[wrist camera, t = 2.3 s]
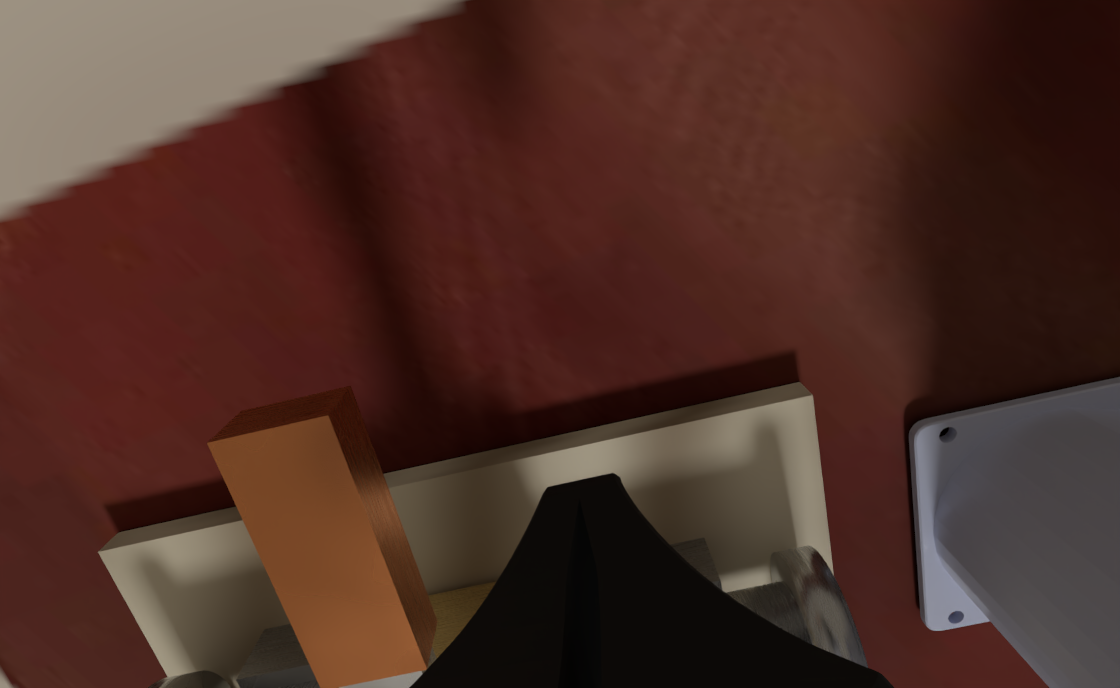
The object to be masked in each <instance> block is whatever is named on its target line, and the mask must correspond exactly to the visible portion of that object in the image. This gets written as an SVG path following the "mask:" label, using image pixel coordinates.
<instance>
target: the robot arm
mask: <svg viewBox="0 0 1120 688" xmlns="http://www.w3.org/2000/svg"><path fill="white" fill-rule="evenodd" d="M947 427H949V430H948V432H947V433H946V434H945V435H944V436H941V437H939V435H940V432H941V431H942V430H943V429H945V428H947ZM909 449H910V464H911V480H912V495H913V510H914V525H915V540H916V555H917V570H918V586H919V601H920V616H921V619H922V621H923V622H924V623H925V625H926V626H927V627H928V628H929V629H931V630H934V631H942V630H947V629H952V628H958V627H963V626H968V625H973V624H978V623H983V622H988V621H991V623H992V624H993V625H994V626H995V627H996V628H997V629H998V630H999V632H1000V633H1001V634H1002V635H1003V636H1004V637H1005V638H1006V639H1007V641H1008V642H1009V643H1010V644H1011V645H1012V646H1013V647H1014V648H1015V649H1016V651H1017V652H1018V653H1019V654H1020V655H1021V656H1022V657H1023V658H1024V660H1025V661H1026V662H1027V663H1028V664H1029V665H1030V666H1031V667H1032V668H1033V670H1034V671H1035V672H1036V673H1037V674H1038V675H1039V676H1040V677H1041V679H1042V680H1043V681H1044V682H1045V683H1046V684H1047V685H1048V686H1049V688H1120V377H1116V378H1112V379H1107V380H1103V381H1098V382H1093V383H1089V384H1084V385H1079V386H1075V387H1070V388H1065V389H1061V390H1056V391H1051V392H1047V393H1042V394H1038V395H1033V396H1028V397H1024V398H1019V399H1014V400H1010V401H1005V402H1000V403H996V404H991V405H986V406H982V407H977V408H972V409H968V410H963V411H959V412H954V413H949V414H945V415H940V416H935V417H931V418H926V419H923V420H920V421H918V422H917V423H915V424H914V425H913V426H912V428H911V429H910V431H909ZM954 611H955V612H954ZM952 612H954V613H953V614H951V613H952ZM950 614H951V615H950ZM409 688H894V687H893V686H892V685H891V684H890V683H889V681H888V680H887V679H886V678H885V677H884V676H883V675H882V674H880V673H879V672H877V671H874V670H872V669H869V668H867V667H865V666H862V665H860V664H857V663H855V662H852V661H850V660H848V659H845V658H843V657H840V656H838V655H836V654H833V653H831V652H828V651H826V650H824V649H821V648H819V647H816V646H814V645H812V644H810V643H808V642H806V641H804V640H802V639H800V638H798V637H796V636H794V635H792V634H790V633H789V632H787V631H785V630H783V629H781V628H779V627H778V626H776V625H775V624H773V623H771V622H770V621H768V620H766V619H765V618H763V617H761V616H760V615H758V614H757V613H755V612H753V611H752V610H750V609H748V608H747V607H745V606H743V605H742V604H740V603H739V602H738V601H736V600H735V599H733V598H732V597H731V596H729V595H728V594H727V593H725V592H724V591H722V590H721V589H720V588H718V587H717V586H716V585H714V584H713V583H712V582H711V581H709V580H708V579H707V578H706V577H704V576H703V575H702V574H701V573H700V572H698V571H697V570H696V569H695V568H694V567H693V566H692V565H690V564H689V563H688V562H687V561H686V560H685V559H684V558H683V557H682V556H681V555H680V554H679V553H678V552H677V551H676V550H675V549H674V548H673V547H672V546H670V545H669V544H668V542H667V541H666V540H665V539H664V538H663V537H662V536H661V535H660V534H659V533H658V532H657V531H656V529H655V528H654V527H653V526H652V525H651V524H650V522H649V521H648V520H647V519H646V518H645V517H644V515H643V514H642V513H641V511H640V510H639V509H638V508H637V506H636V505H635V503H634V502H633V500H632V499H631V498H630V496H629V494H628V493H627V491H626V489H625V488H624V486H623V484H622V481H621V478H620V477H619V476H617V475H616V474H614V473H610V474H605V475H600V476H596V477H591V478H586V479H582V480H577V481H573V482H568V483H563V484H559V485H554V486H550V487H547V488H546V490H545V491H544V493H543V494H542V497H541V499H540V501H539V503H538V506H537V508H536V510H535V512H534V514H533V516H532V519H531V521H530V523H529V525H528V527H527V529H526V531H525V533H524V535H523V536H522V538H521V540H520V542H519V544H518V546H517V548H516V549H515V551H514V553H513V555H512V557H511V559H510V560H509V562H508V564H507V565H506V567H505V569H504V570H503V572H502V573H501V575H500V577H499V578H498V580H497V581H496V583H495V585H494V586H493V588H492V589H491V591H490V592H489V594H488V596H487V597H486V599H485V600H484V601H483V603H482V604H481V606H480V607H479V609H478V610H477V611H476V613H475V614H474V615H473V617H472V618H471V619H470V621H469V622H468V623H467V624H466V626H465V627H464V628H463V630H462V631H461V632H460V633H459V634H458V636H457V637H456V638H455V639H454V640H453V642H452V643H451V644H450V645H449V646H448V647H447V648H446V649H445V650H444V651H443V652H442V653H441V655H440V656H439V657H438V658H437V659H436V660H435V661H434V662H433V663H432V664H431V665H430V666H429V667H428V669H427V670H426V671H425V672H424V673H423V674H422V675H421V676H420V677H419V678H418V679H417V680H416V681H415V682H414V683H413V684H412V685H411V686H410V687H409Z"/></svg>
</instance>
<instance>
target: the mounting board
mask: <svg viewBox="0 0 1120 688" xmlns="http://www.w3.org/2000/svg"><path fill="white" fill-rule="evenodd" d="M610 473H614V474H616V475H617V476H619V477H620V478H621V481H622V484H623V486H624V488H625V489H626V491H627V493H628V494H629V496H630V498H631V499H632V500H633V502H634V503H635V505H636V506H637V508H638V509H639V510H640V511H641V513H642V514H643V515H644V517H645V518H646V519H647V520H648V521H649V522H650V524H651V525H652V526H653V527H654V528H655V529H656V531H657V532H658V533H659V534H660V535H661V536H662V537H663V538H664V539H665V540H666V541H667V542H668V544H669V545H670V544H674V543H679V542H684V541H689V540H694V539H698V538H703V537H704V538H705V541H706V543H707V546H708V549H709V551H710V554H711V557H712V559H713V562H714V564H715V567H716V570H717V572H718V575H719V578H720V580H721V585H722V591H724V592H730V591H735V590H740V589H745V588H750V587H754V586H759V585H764V584H769V583H772V578H771V569H770V559H771V555H772V553H774V552H778V551H783V550H788V549H793V548H798V547H802V546H807V545H809V546H812V547H813V548H815V549H816V550H817V551H818V552H819V554H820V555H821V556H822V557H823V559H824V560H825V562H826V563H827V565H828V567H829V568H830V570H831V572H832V574H833V575H834V573H833V564H832V556H831V547H830V539H829V530H828V522H827V513H826V505H825V496H824V488H823V479H822V471H821V462H820V454H819V445H818V437H817V428H816V420H815V411H814V403H813V395H812V394H811V393H810V392H809V391H808V390H807V389H806V388H805V387H804V386H803V385H802V384H801V383H800V382H797V383H792V384H788V385H783V386H779V387H774V388H770V389H765V390H761V391H756V392H752V393H747V394H743V395H738V396H734V397H729V398H725V399H720V400H715V401H711V402H706V403H702V404H697V405H693V406H688V407H684V408H679V409H675V410H670V411H666V412H661V413H657V414H652V415H648V416H643V417H639V418H634V419H630V420H625V421H620V422H616V423H611V424H607V425H602V426H598V427H593V428H589V429H584V430H580V431H575V432H571V433H566V434H562V435H557V436H553V437H548V438H544V439H539V440H534V441H530V442H525V443H521V444H516V445H512V446H507V447H503V448H498V449H494V450H489V451H485V452H480V453H476V454H471V455H467V456H462V457H458V458H453V459H449V460H444V461H439V462H435V463H430V464H426V465H421V466H417V467H412V468H408V469H403V470H399V471H394V472H390V473H385V474H383V475H384V477H385V480H386V483H387V486H388V488H389V491H390V494H391V496H392V499H393V502H394V504H395V507H396V510H397V513H398V515H399V518H400V521H401V523H402V526H403V529H404V532H405V534H406V537H407V540H408V542H409V545H410V548H411V550H412V553H413V556H414V559H415V561H416V564H417V567H418V569H419V572H420V575H421V578H422V580H423V583H424V586H425V588H426V591H427V594H428V596H429V595H434V594H439V593H444V592H449V591H453V590H458V589H463V588H468V587H472V586H477V585H482V584H487V583H492V582H496V581H497V580H498V578H499V577H500V575H501V573H502V572H503V570H504V569H505V567H506V565H507V564H508V562H509V560H510V559H511V557H512V555H513V553H514V551H515V549H516V548H517V546H518V544H519V542H520V540H521V538H522V536H523V535H524V533H525V531H526V529H527V527H528V525H529V523H530V521H531V519H532V516H533V514H534V512H535V510H536V508H537V506H538V503H539V501H540V499H541V497H542V494H543V493H544V491H545V490H546V488H547V487H550V486H554V485H559V484H563V483H568V482H573V481H577V480H582V479H586V478H591V477H596V476H600V475H605V474H610ZM98 553H99V555H100V556H101V558H102V560H103V562H104V564H105V565H106V567H107V569H108V571H109V573H110V574H111V576H112V578H113V580H114V581H115V583H116V585H117V587H118V589H119V590H120V592H121V594H122V596H123V598H124V599H125V601H126V603H127V605H128V607H129V608H130V610H131V612H132V614H133V615H134V617H135V619H136V621H137V623H138V624H139V626H140V628H141V630H142V632H143V633H144V635H145V637H146V639H147V641H148V642H149V644H150V646H151V648H152V649H153V651H154V653H155V655H156V657H157V658H158V660H159V662H160V664H161V666H162V667H163V669H164V671H165V673H166V675H167V676H168V677H172V676H177V675H182V674H187V673H192V672H197V671H211V672H214V673H216V674H218V675H220V676H221V677H222V678H223V679H224V680H225V681H226V682H227V683H228V684H229V686H230V687H231V688H240V687H239V685H238V683H237V681H236V679H237V677H238V675H239V673H240V672H241V670H242V668H243V666H244V665H245V663H246V661H247V659H248V657H249V656H250V654H251V652H252V650H253V649H254V647H255V645H256V643H257V641H258V640H259V638H260V636H261V634H262V633H263V631H264V629H268V628H273V627H277V626H282V625H287V624H291V623H290V621H289V619H288V617H287V615H286V613H285V610H284V608H283V606H282V604H281V602H280V600H279V597H278V595H277V593H276V591H275V589H274V587H273V585H272V582H271V580H270V578H269V576H268V574H267V572H266V569H265V567H264V565H263V563H262V561H261V559H260V556H259V554H258V552H257V550H256V548H255V546H254V543H253V541H252V539H251V537H250V535H249V533H248V531H247V528H246V526H245V524H244V522H243V520H242V518H241V515H240V513H239V511H238V509H237V507H231V508H227V509H222V510H218V511H213V512H209V513H204V514H200V515H195V516H191V517H186V518H182V519H177V520H173V521H168V522H164V523H159V524H154V525H150V526H145V527H141V528H136V529H132V530H127V531H123V532H119V533H117V534H116V535H115V536H114V537H113V538H112V539H111V540H110V541H109V542H108V543H107V544H106V545H105V546H104V547H103V548H102V549H101V550H100V551H98Z"/></svg>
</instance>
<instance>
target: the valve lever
mask: <svg viewBox="0 0 1120 688" xmlns="http://www.w3.org/2000/svg"><path fill="white" fill-rule="evenodd" d="M207 444H208V446H209V448H210V451H211V453H212V455H213V457H214V459H215V461H216V464H217V466H218V468H219V470H220V472H221V474H222V477H223V479H224V481H225V483H226V485H227V487H228V489H229V492H230V494H231V496H232V498H233V500H234V502H235V505H236V507H237V509H238V511H239V513H240V515H241V518H242V520H243V522H244V524H245V526H246V528H247V531H248V533H249V535H250V537H251V539H252V541H253V543H254V546H255V548H256V550H257V552H258V554H259V556H260V559H261V561H262V563H263V565H264V567H265V569H266V572H267V574H268V576H269V578H270V580H271V582H272V585H273V587H274V589H275V591H276V593H277V595H278V597H279V600H280V602H281V604H282V606H283V608H284V610H285V613H286V615H287V617H288V619H289V621H290V623H291V626H292V628H293V630H294V632H295V634H296V636H297V639H298V641H299V643H300V645H301V647H302V649H303V651H304V654H305V656H306V658H307V660H308V662H309V664H310V667H311V669H312V671H313V673H314V675H315V677H316V680H317V682H318V684H319V686H320V688H409V687H410V686H411V685H412V684H413V683H414V682H415V681H416V680H417V679H418V678H419V677H420V676H421V675H422V674H423V673H424V672H425V671H426V670H427V669H428V667H429V666H430V665H431V664H432V663H433V662H434V661H435V660H436V659H437V658H436V655H435V653H434V650H433V647H432V645H433V640H434V636H435V631H436V627H437V622H438V621H437V618H436V615H435V613H434V610H433V607H432V605H431V602H430V599H429V596H428V594H427V591H426V588H425V586H424V583H423V580H422V578H421V575H420V572H419V569H418V567H417V564H416V561H415V559H414V556H413V553H412V550H411V548H410V545H409V542H408V540H407V537H406V534H405V532H404V529H403V526H402V523H401V521H400V518H399V515H398V513H397V510H396V507H395V504H394V502H393V499H392V496H391V494H390V491H389V488H388V486H387V483H386V480H385V477H384V475H383V472H382V469H381V467H380V464H379V461H378V459H377V456H376V453H375V450H374V448H373V445H372V442H371V440H370V437H369V434H368V431H367V429H366V426H365V423H364V421H363V418H362V415H361V413H360V410H359V407H358V404H357V402H356V399H355V396H354V394H353V391H352V388H351V386H347V387H343V388H339V389H334V390H330V391H326V392H321V393H317V394H313V395H308V396H304V397H300V398H295V399H291V400H287V401H282V402H278V403H273V404H269V405H265V406H260V407H256V408H252V409H247V410H243V411H241V412H240V413H239V414H237V415H236V416H235V417H234V418H233V419H232V420H231V421H230V422H229V423H228V424H227V425H226V426H225V427H224V428H222V429H221V430H220V431H219V432H218V433H217V434H216V435H215V436H214V437H213V438H212V439H211V440H210V441H208V442H207Z"/></svg>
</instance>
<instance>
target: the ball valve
mask: <svg viewBox="0 0 1120 688" xmlns="http://www.w3.org/2000/svg"><path fill="white" fill-rule="evenodd" d="M670 546H672V547H673V548H674V549H675V550H676V551H677V552H678V553H679V554H680V555H681V556H682V557H683V558H684V559H685V560H686V561H687V562H688V563H689V564H690V565H692V566H693V567H694V568H695V569H696V570H697V571H698V572H700V573H701V574H702V575H703V576H704V577H706V578H707V579H708V580H709V581H711V582H712V583H713V584H714V585H716V586H717V587H718V588H720V589H721V590H722V585H721V580H720V578H719V575H718V572H717V570H716V567H715V564H714V562H713V559H712V557H711V554H710V551H709V549H708V546H707V543H706V541H705V538H704V537H703V538H698V539H694V540H689V541H684V542H679V543H674V544H670ZM770 569H771V578H772V583H769V584H764V585H759V586H754V587H750V588H745V589H740V590H735V591H730V592H725V593H727V594H728V595H729V596H731V597H732V598H733V599H735V600H736V601H738V602H739V603H740V604H742V605H743V606H745V607H747V608H748V609H750V610H752V611H753V612H755V613H757V614H758V615H760V616H761V617H763V618H765V619H766V620H768V621H770V622H771V623H773V624H775V625H776V626H778V627H779V628H781V629H783V630H785V631H787V632H789V633H790V634H792V635H794V636H796V637H798V638H800V639H802V640H804V641H806V642H808V643H810V644H812V645H814V646H816V647H819V648H821V649H824V650H826V651H828V652H831V653H833V654H836V655H838V656H840V657H843V658H845V659H848V660H850V661H852V662H855V663H857V664H860V665H862V666H865V667H867V668H868V665H867V662H866V658H865V654H864V651H863V648H862V644H861V641H860V638H859V635H858V632H857V629H856V626H855V623H854V621H853V618H852V615H851V613H850V610H849V608H848V605H847V603H846V601H845V598H844V596H843V594H842V592H841V589H840V587H839V585H838V583H837V581H836V579H835V577H834V575H833V574H832V572H831V570H830V568H829V567H828V565H827V563H826V562H825V560H824V559H823V557H822V556H821V555H820V554H819V552H818V551H817V550H816V549H815V548H813V547H812V546H809V545H807V546H802V547H798V548H793V549H788V550H783V551H778V552H774V553H772V555H771V559H770ZM495 583H496V582H492V583H487V584H482V585H477V586H472V587H468V588H463V589H458V590H453V591H449V592H444V593H439V594H434V595H429V599H430V602H431V605H432V607H433V610H434V613H435V615H436V618H437V621H438V622H437V627H436V631H435V636H434V640H433V645H432V647H433V650H434V653H435V655H436V658H438V657H439V656H440V655H441V653H442V652H443V651H444V650H445V649H446V648H447V647H448V646H449V645H450V644H451V643H452V642H453V640H454V639H455V638H456V637H457V636H458V634H459V633H460V632H461V631H462V630H463V628H464V627H465V626H466V624H467V623H468V622H469V621H470V619H471V618H472V617H473V615H474V614H475V613H476V611H477V610H478V609H479V607H480V606H481V604H482V603H483V601H484V600H485V599H486V597H487V596H488V594H489V592H490V591H491V589H492V588H493V586H494V585H495ZM236 681H237V683H238V685H239V687H240V688H320V686H319V684H318V682H317V680H316V677H315V675H314V673H313V671H312V669H311V667H310V664H309V662H308V660H307V658H306V656H305V654H304V651H303V649H302V647H301V645H300V643H299V641H298V639H297V636H296V634H295V632H294V630H293V628H292V626H291V624H287V625H282V626H277V627H273V628H268V629H264V631H263V633H262V634H261V636H260V638H259V640H258V641H257V643H256V645H255V647H254V649H253V650H252V652H251V654H250V656H249V657H248V659H247V661H246V663H245V665H244V666H243V668H242V670H241V672H240V673H239V675H238V677H237V679H236ZM148 688H231V687H230V686H229V684H228V683H227V682H226V681H225V680H224V679H223V678H222V677H221V676H220V675H218V674H216V673H214V672H211V671H197V672H192V673H187V674H182V675H177V676H172V677H168V678H164V679H161V680H159V681H157V682H155V683H154V684H152V685H151V686H149V687H148Z"/></svg>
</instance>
